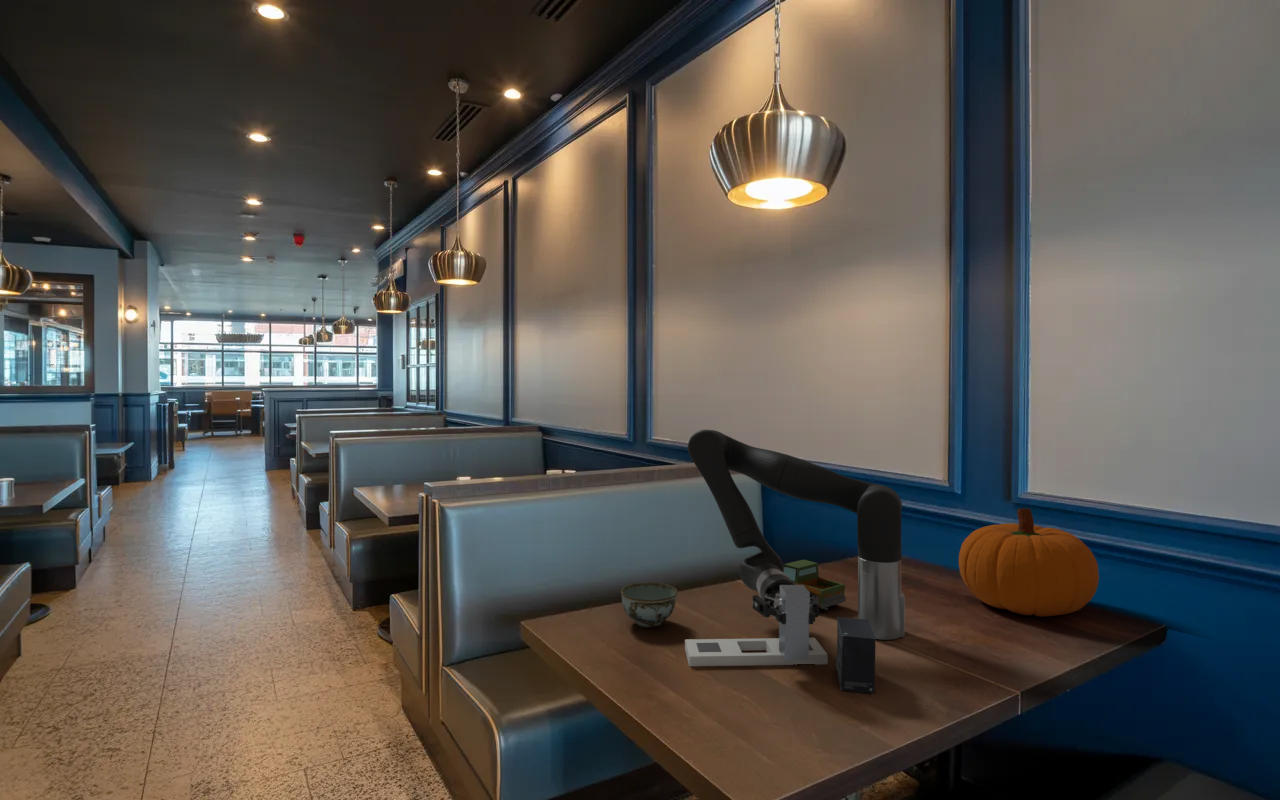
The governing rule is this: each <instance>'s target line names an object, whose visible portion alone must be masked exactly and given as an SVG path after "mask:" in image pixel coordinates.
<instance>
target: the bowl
mask: <svg viewBox="0 0 1280 800" xmlns="http://www.w3.org/2000/svg"><path fill="white" fill-rule="evenodd" d="M620 589H621V590H620V594H621V602H622V607H623V609H624V611H625V613H626V614H627V616H628V617H629V618H630V619H632V620H633V621H635V624H636V626H638V627H640V628H643V629H655V628H658V627H660V626H661V625H662V624H663V622H664V621H666V620H667V619H668V618H670V616H671V615H672V614H673V611H674V609H675V607H676V601H677V595H678V593H679V590H678V589H677V588H676V587H675V586H673V585H670V584H667V583H661V582H655V581H654V582H651V581H650V582H647V581H646V582H643V581H642V582H636V583H635V582H634V583H630V584H627V585H625V586H624V587H622V588H620Z"/></svg>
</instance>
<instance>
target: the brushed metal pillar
mask: <svg viewBox="0 0 1280 800" xmlns="http://www.w3.org/2000/svg"><path fill="white" fill-rule="evenodd" d="M809 606H810V592H809V591H808V590H807V589H806V588H805V587H804V585H780V607H782V609H783V610H784V612H785V613H786V624H781V622H778V623H779V624H778V638H779V651H780V653H781V655H782V657H783V658H784V660H809V638H810V624H809Z"/></svg>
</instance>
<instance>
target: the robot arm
mask: <svg viewBox="0 0 1280 800" xmlns="http://www.w3.org/2000/svg"><path fill="white" fill-rule="evenodd" d="M687 452H688V455H689V458H690V459H691V460H692V463H694V465H695V467H696V468H697V469H698V471H699V473H700V474H701V476H702V477H703V479H704V481H705V482H706V485H707V487H708V488H709V490H710V492H711V494H712V496H713V498H714V500H715V503H716V505H717V507H718V510H719V511H720V513H721V516H722V518H723V521H724V523H725V524H726V525H725V526H726V527H727V530H728V532H729V534H730V537H731V540H732V541H733V544H734V545H735V547H736V548H737V549H746V548H753V547H755V548H758V549H759V550H760V552H758V553H755V554H754V555H751V556H749V557H747V558H744V559H743V560H741V562H740V563H739V565H738V568H737V569H738V574H739V575H738V576H739V578H740V580H741V581H742V583H743V584H744V585H745V586H746V587H747V588H748V589H750V590H752V591H754V592H755V591H756V592H757V593H758V595H759V596H758V595H755V594H754V595H752V610H755V611H756V612H757V613H758V614H759V615H761V616H763V617H764V618H770V617H771V616H772V618H774V619H775V620H776V621H777V622H778V623H779V622H781V624H786V613H785V612H784V610H783V609H782V607H780V585H795V584H794V583H793V582H792V581H791V580H790V578H789V577H788V576H787V575H786V574H785V573H783V572H784V562H783V560H782V558H781V557H780V556H779V554H778V553H777V552H776V551H775V550H774V549H773V547H772V546H771V545H770V544H769V543H768V541H767V539H766V538H765V537H764V535H763V533H762V531H761V529H760V527H759V525H758V523H757V520H756V518H755V516H754V513H753V511H752V509H751V508H750V506H749V503H748V502H747V500H746V498H745V497H744V495H743V494H742V492H741V491H740V490H739V488H738V486H737V484H736V483H735V480H734V478H733V476H732V475H731V471H732V472H736V473H739V474H741V475H744V476H746V477H748V478H750V479H752V480H753V481H755V482H756V483H758V484H760V485H762V486H764V487H766V488H768V489H771V490H772V491H775V492H777V493H781V494H783V495H785V496H787V497H788V496H789V497H790V498H791V497H792V498H794V499H799V500H803V501H808V502H809V501H810V502H813V503H814V502H815V503H822V504H829V505H833V506H836V507H839V508H843V509H846V510H847V511H850V512H853V513H854V514H856V515H857V516H856V521H857V522H856V523H857V524H856V527H857V528H856V530H857V531H856V537H857V538H856V539H857V554H858V555H857V563H858V564H857V569H858V570H857V619H866V620H869V623H870V626H871V628H872V631H873V633H874V636H875V638H876V640H880V641H884V640H885V641H889V640H890V641H891V640H896V639H899V638H904V637H905V618H906V617H905V616H906V615H905V613H906V611H905V610H906V609H905V607H906V606H905V604H906V602H905V599H906V598H905V594H904V593H903V592H902V511H903V504H902V503H903V502H902V500H901V499H902V498H901V497H900V496H899V494H898V492H896V491H895V490H894V489H893V488H891V487H889V486H886V485H883V484H879V483H873V482H868V481H864V480H861V479H856V478H852V477H848V476H845V475H843V474H839V473H838V472H835V471H832V470H830V469H829V468H826V467H823V466H821V465H818V464H815V463H813V462H810V461H807V460H805V459H802V458H798V457H795V456H792V455H789V454H786V453H782V452H778V451H775V450H770V449H766V448H761V447H755V446H753V445H749V444H746V443H745V442H744V443H743V441H739V440H737V439H736V438H735V439H734V438H733V437H731V436H728V435H726V434H725V433H722V432H721V431H719V430H713V429H701V430H697V431H696V432H694V433H693V434H692V435H691V436H690V437H689V440H688V443H687ZM819 609H820V608H819V597H818V596H816V595H814V596H812V597H810V606H809V625H814V623H816V618H819V617H820V615H819V614H820V613H819Z"/></svg>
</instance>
